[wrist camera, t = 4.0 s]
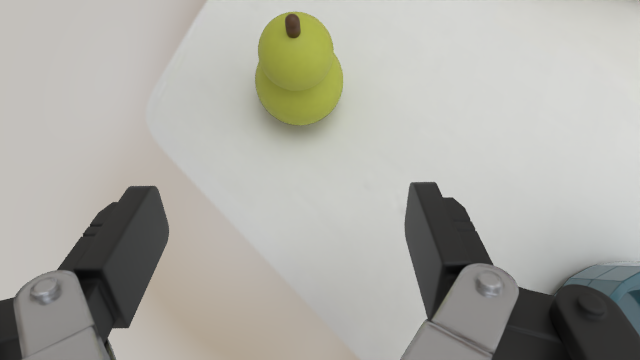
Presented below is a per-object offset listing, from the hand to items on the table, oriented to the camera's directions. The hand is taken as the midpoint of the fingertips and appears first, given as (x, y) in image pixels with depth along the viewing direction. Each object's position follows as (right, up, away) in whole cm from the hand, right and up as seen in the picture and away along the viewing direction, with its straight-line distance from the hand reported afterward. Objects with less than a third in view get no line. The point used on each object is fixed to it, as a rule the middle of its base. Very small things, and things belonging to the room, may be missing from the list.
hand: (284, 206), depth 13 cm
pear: (0, +6, +15) cm, 16 cm away
